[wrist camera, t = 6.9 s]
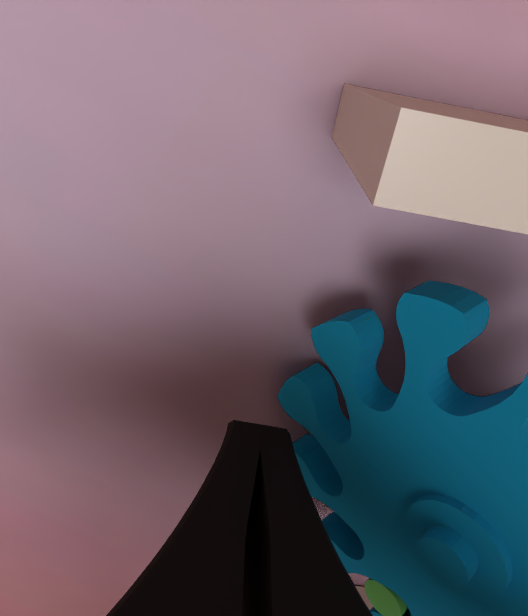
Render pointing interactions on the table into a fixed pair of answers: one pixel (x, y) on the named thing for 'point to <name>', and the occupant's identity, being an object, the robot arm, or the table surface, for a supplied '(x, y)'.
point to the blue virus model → (417, 462)
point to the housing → (435, 161)
